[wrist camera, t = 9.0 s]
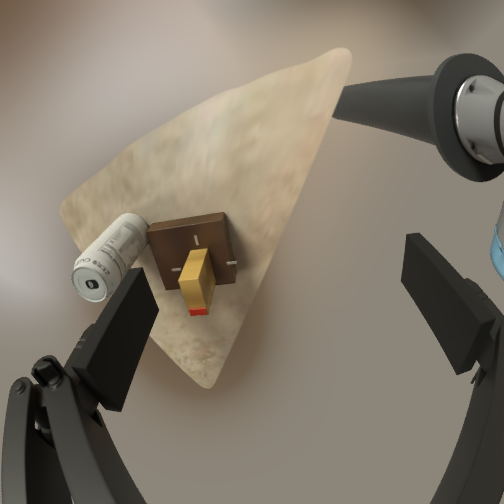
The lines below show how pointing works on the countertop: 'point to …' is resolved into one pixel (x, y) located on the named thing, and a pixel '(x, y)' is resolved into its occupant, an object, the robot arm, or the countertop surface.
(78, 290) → the energy drink can
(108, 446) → the robot arm
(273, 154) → the countertop surface
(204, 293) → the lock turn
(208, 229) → the plate
